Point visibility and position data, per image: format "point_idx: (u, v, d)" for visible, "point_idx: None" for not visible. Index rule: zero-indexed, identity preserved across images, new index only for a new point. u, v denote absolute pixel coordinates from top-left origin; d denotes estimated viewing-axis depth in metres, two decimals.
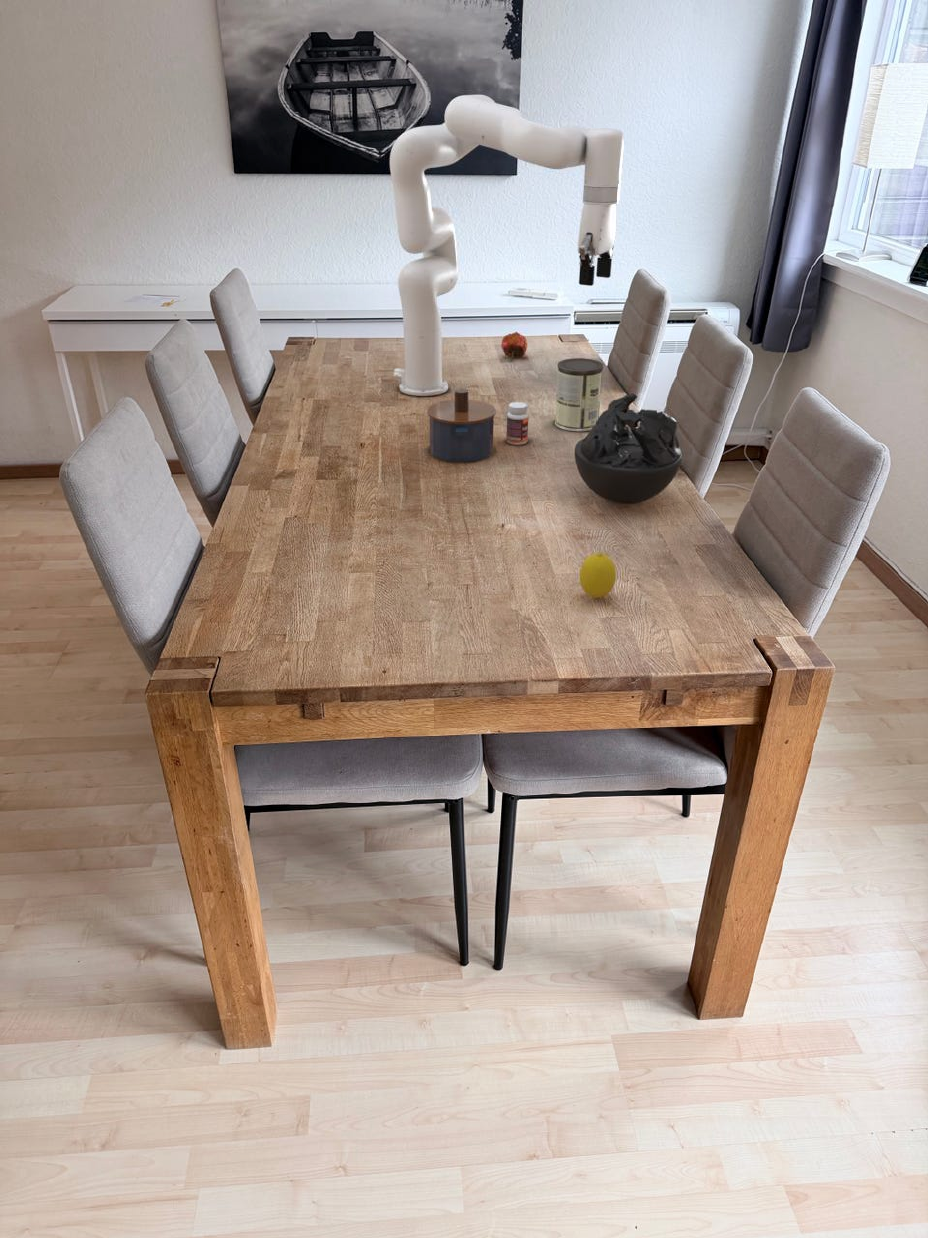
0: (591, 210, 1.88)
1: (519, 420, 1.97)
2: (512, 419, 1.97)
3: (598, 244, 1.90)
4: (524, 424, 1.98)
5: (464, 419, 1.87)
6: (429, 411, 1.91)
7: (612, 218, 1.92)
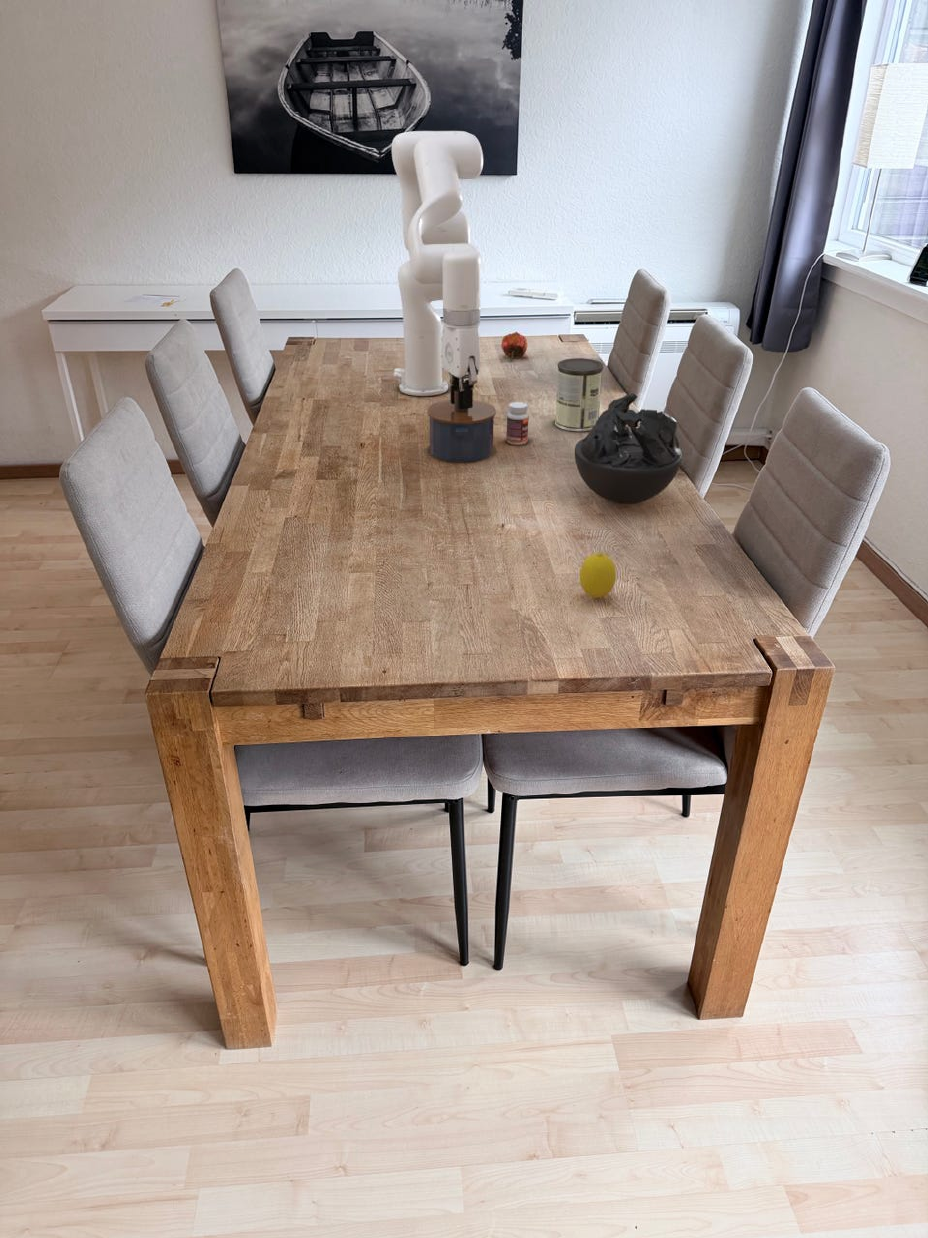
0: (470, 334, 1.80)
1: (519, 420, 1.97)
2: (512, 419, 1.97)
3: (479, 365, 1.84)
4: (524, 424, 1.98)
5: (464, 419, 1.87)
6: (429, 411, 1.91)
7: None
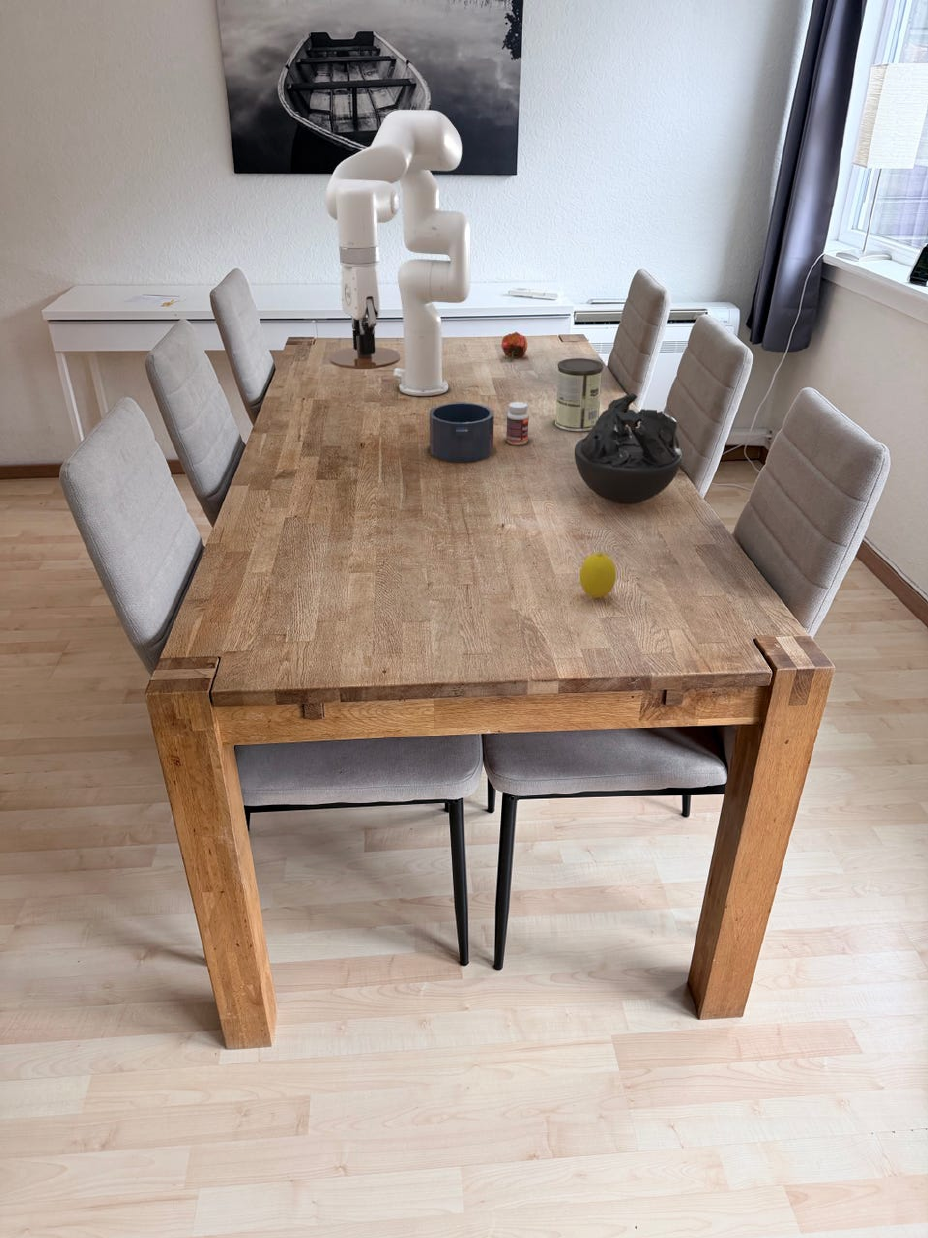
0: (367, 273, 1.72)
1: (519, 420, 1.97)
2: (512, 419, 1.97)
3: None
4: (524, 424, 1.98)
5: (365, 364, 1.80)
6: (330, 357, 1.84)
7: None
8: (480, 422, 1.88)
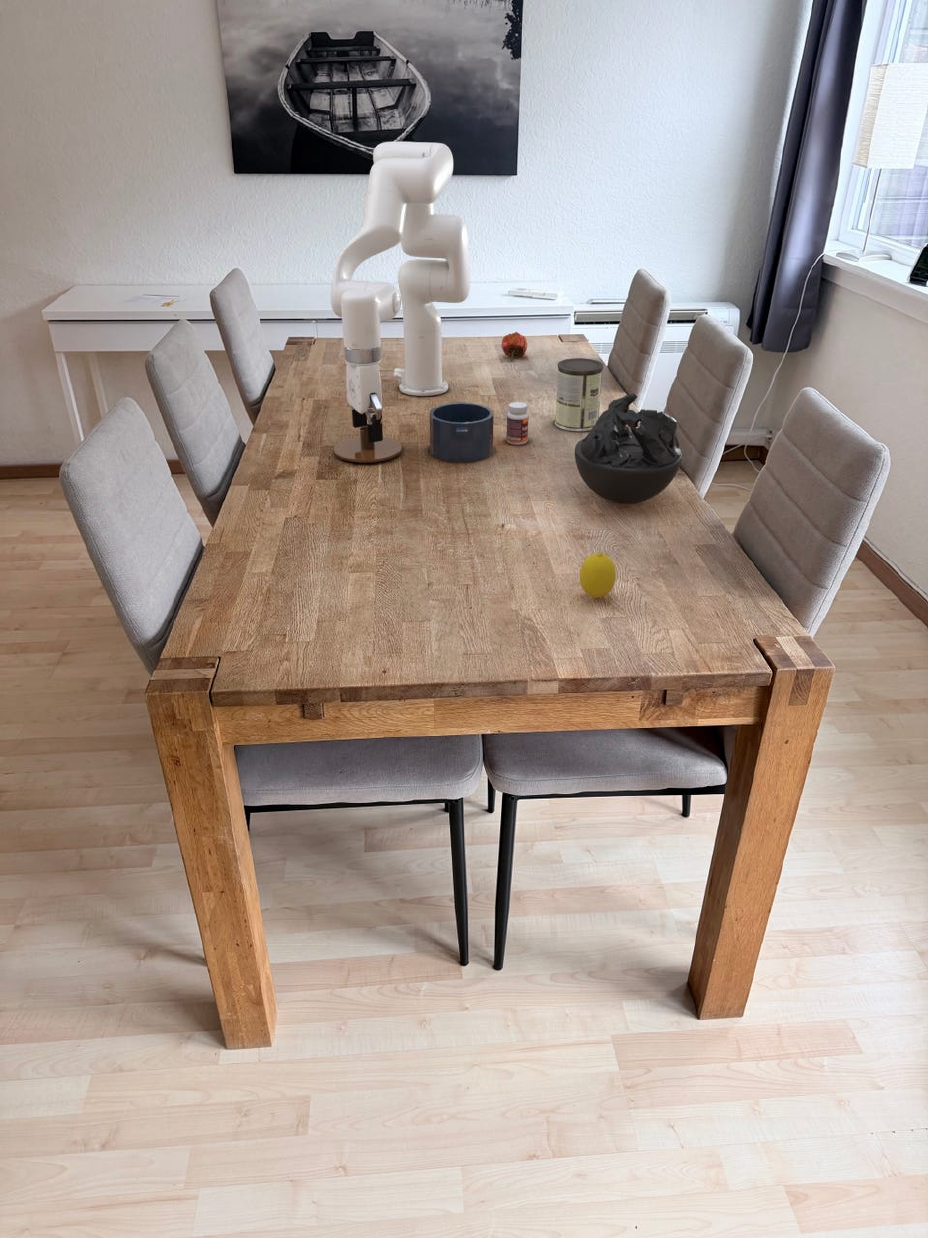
0: (370, 372, 1.82)
1: (519, 420, 1.97)
2: (512, 419, 1.97)
3: (381, 401, 1.87)
4: (524, 424, 1.98)
5: (368, 457, 1.90)
6: (335, 448, 1.94)
7: None
8: (480, 422, 1.88)
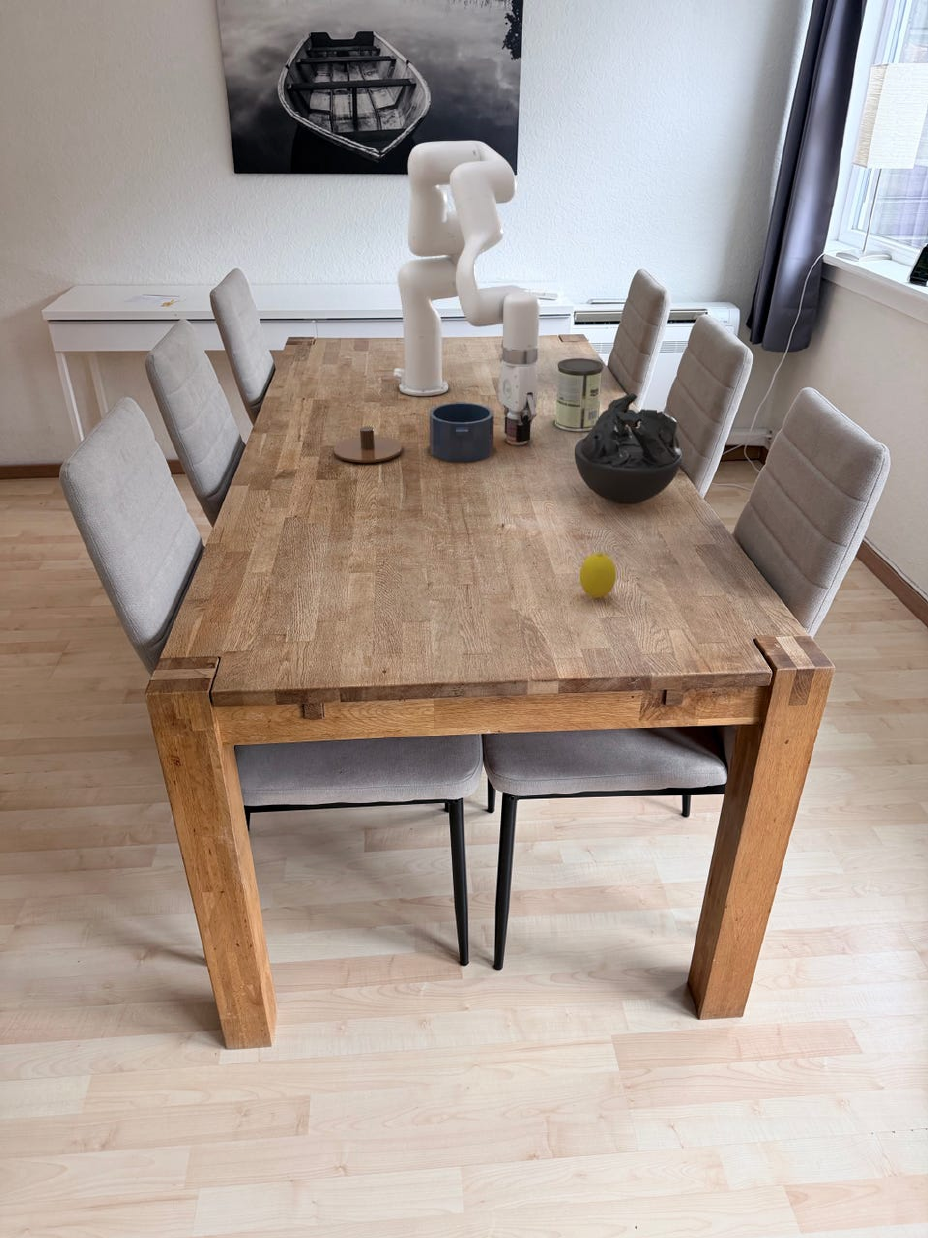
0: (529, 372, 1.89)
1: None
2: (512, 419, 1.97)
3: None
4: None
5: (368, 457, 1.90)
6: (335, 448, 1.94)
7: None
8: (480, 422, 1.88)
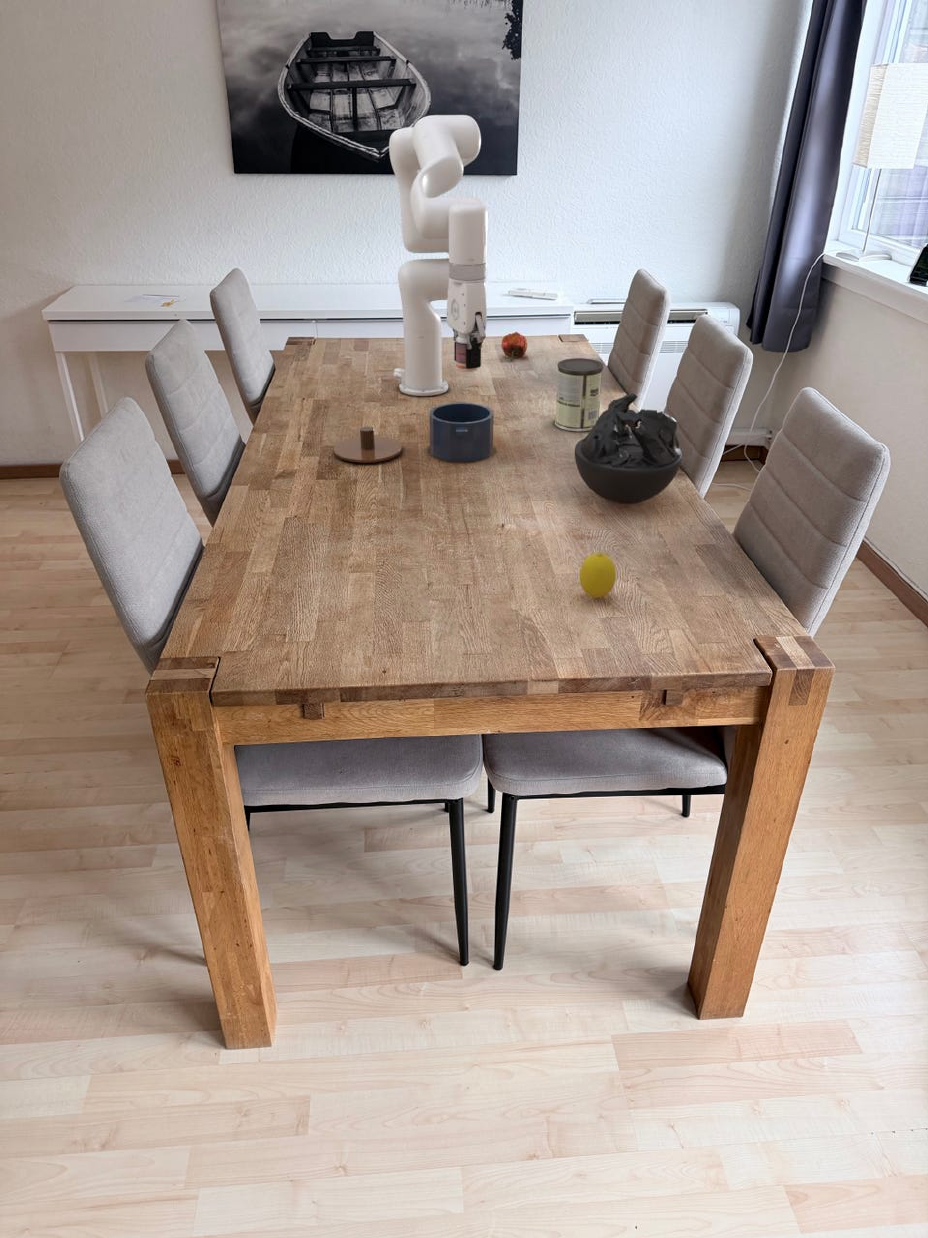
0: (477, 289, 1.76)
1: None
2: (461, 343, 1.83)
3: (486, 321, 1.80)
4: None
5: (368, 457, 1.90)
6: (335, 448, 1.94)
7: None
8: (480, 422, 1.88)
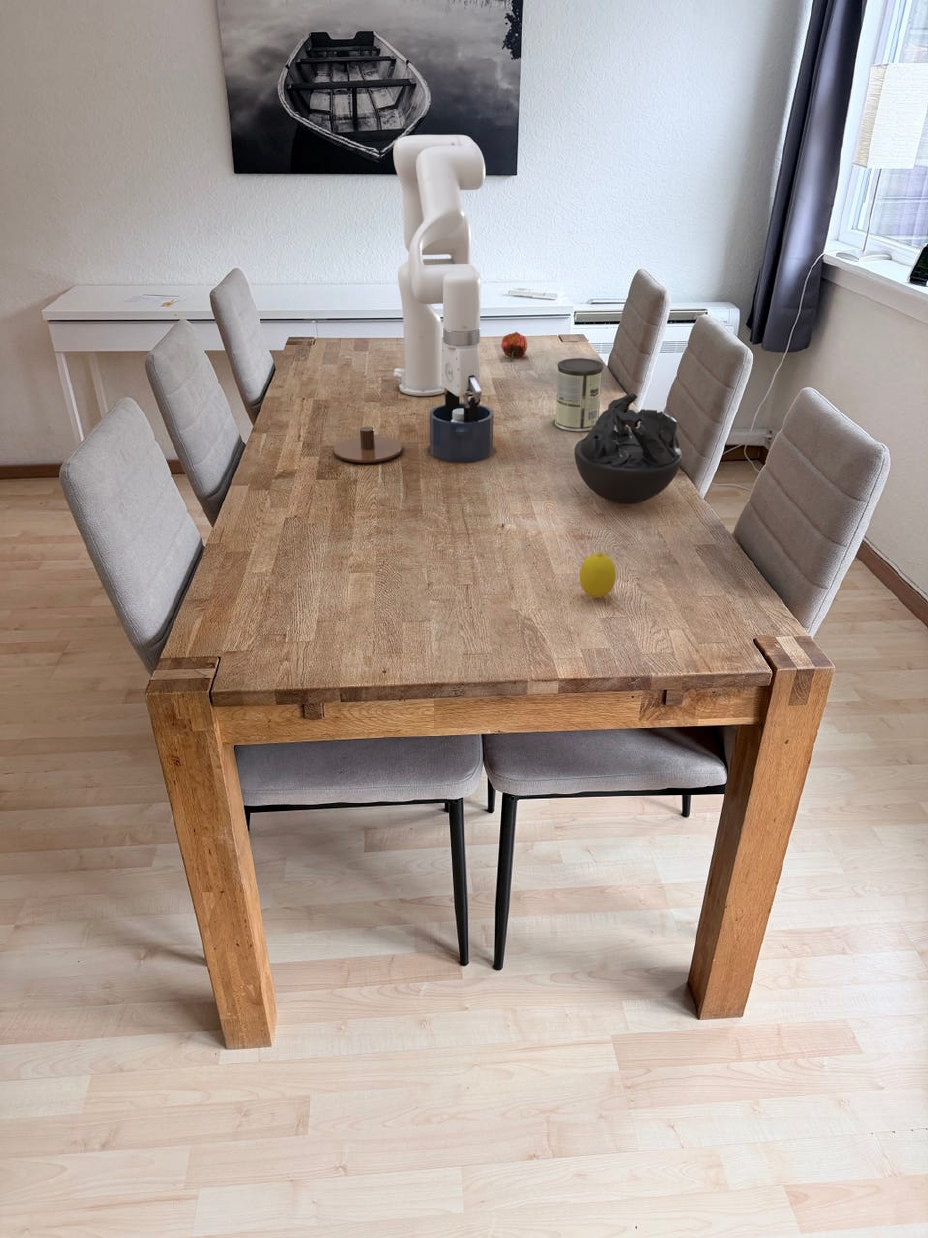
0: (470, 354, 1.82)
1: None
2: None
3: (479, 384, 1.86)
4: None
5: (368, 457, 1.90)
6: (335, 448, 1.94)
7: None
8: (480, 422, 1.88)
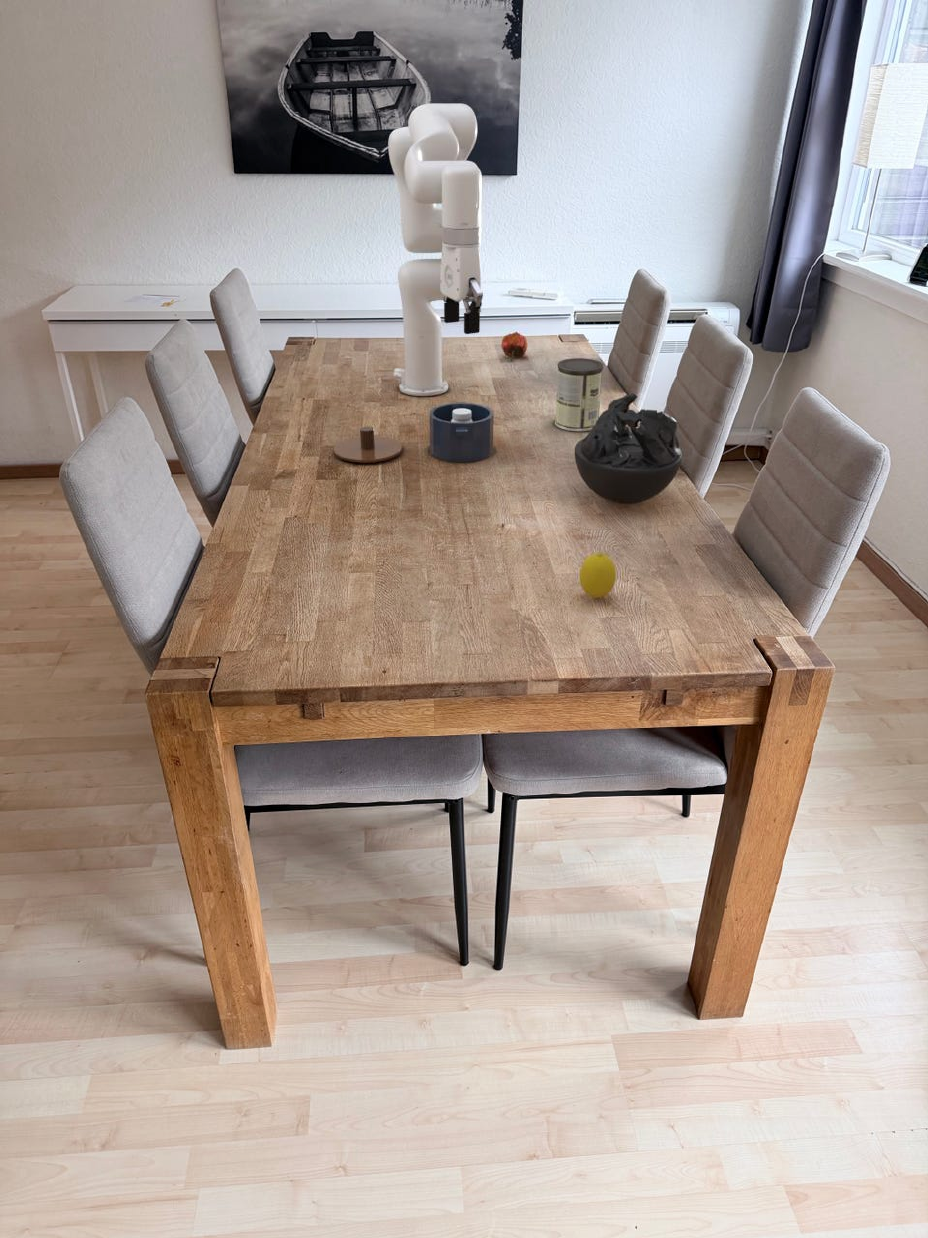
0: (471, 254, 1.72)
1: None
2: None
3: (480, 288, 1.76)
4: None
5: (368, 457, 1.90)
6: (335, 448, 1.94)
7: None
8: (480, 422, 1.88)
